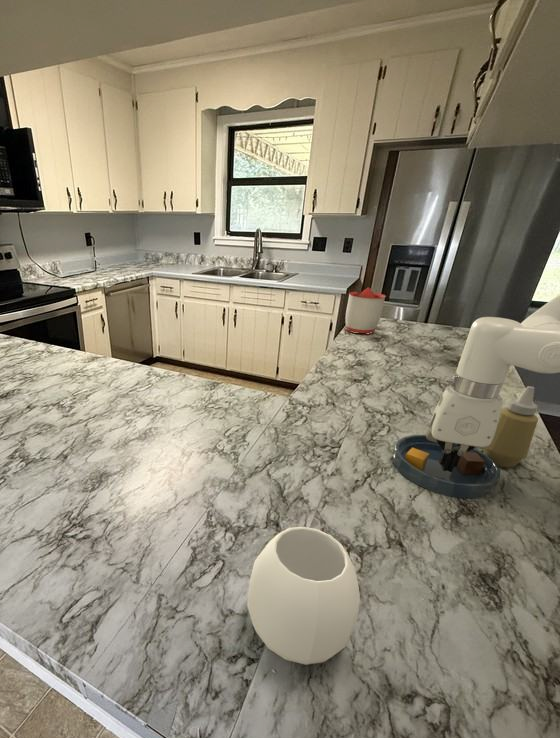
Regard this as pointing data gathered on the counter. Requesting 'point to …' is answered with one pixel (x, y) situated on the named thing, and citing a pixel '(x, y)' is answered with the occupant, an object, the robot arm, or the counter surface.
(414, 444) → the plate
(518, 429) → the squeeze bottle
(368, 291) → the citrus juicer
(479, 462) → the walnut block
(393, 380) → the counter surface
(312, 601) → the cup
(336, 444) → the counter surface
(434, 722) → the counter surface
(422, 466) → the mustard block
